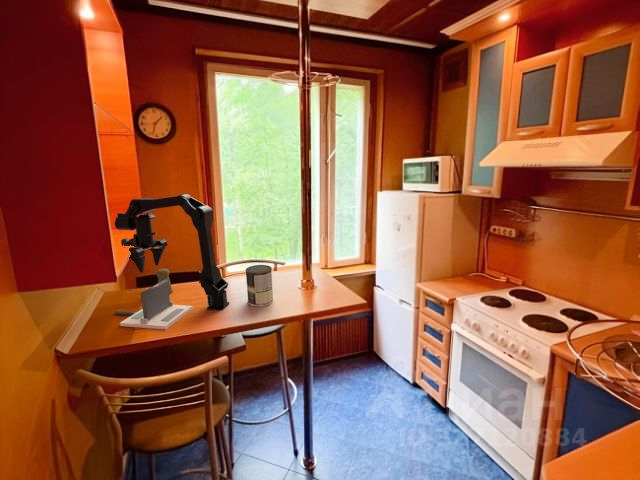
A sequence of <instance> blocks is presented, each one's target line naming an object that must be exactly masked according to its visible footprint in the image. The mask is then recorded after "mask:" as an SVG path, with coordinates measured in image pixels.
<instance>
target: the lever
mask: <svg viewBox="0 0 640 480" xmlns="http://www.w3.org/2000/svg"><path fill="white" fill-rule="evenodd" d="M167 282H168V281H167V280H163V281H161V282H160V283H158V282H157V283H156V284H155V285H153V286H151V287H148V288H147V289H145V290H143V291H142V292H140V300H141V307H142V308H141V309H143V315H144V318H145V319H147V320H149V319H150V318H152V317H153V316H155V315H156V314H157V313H159V312H160V311H162V310H163V309H165V308H166V307H168V306H169V305H170V301H171V300H170V295H169V291H168V283H167Z"/></svg>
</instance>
